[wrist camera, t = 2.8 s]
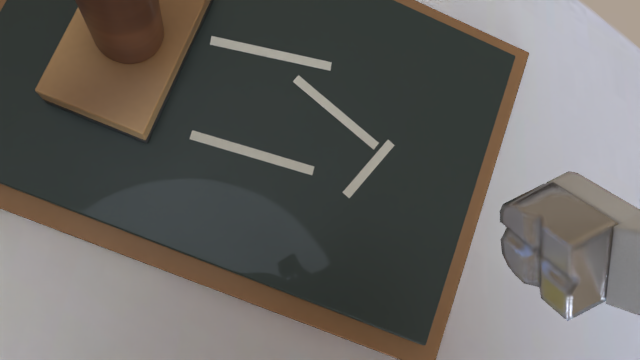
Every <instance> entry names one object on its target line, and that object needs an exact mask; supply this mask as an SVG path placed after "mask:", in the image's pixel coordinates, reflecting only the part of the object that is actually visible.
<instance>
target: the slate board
mask: <svg viewBox="0 0 640 360" xmlns="http://www.w3.org/2000/svg"><path fill="white" fill-rule="evenodd" d="M77 8H78V6H77V3H76V1H75V0H0V208H1V209H3V210H6V211H9V212H11V213H14V214H17V215H19V216H22V217H24V218H27V219H30V220H32V221H35V222H38V223H40V224H43V225H46V226H48V227H51V228H54V229H56V230H59V231H61V232H64V233H67V234H69V235H72V236H75V237H77V238H80V239H83V240H85V241H88V242H91V243H93V244H96V245H98V246H101V247H104V248H106V249H109V250H112V251H114V252H117V253H120V254H122V255H125V256H128V257H130V258H133V259H136V260H138V261H141V262H143V263H146V264H149V265H151V266H154V267H157V268H159V269H162V270H165V271H167V272H170V273H173V274H175V275H178V276H180V277H183V278H186V279H188V280H191V281H194V282H196V283H199V284H202V285H204V286H207V287H210V288H212V289H215V290H218V291H220V292H223V293H225V294H228V295H231V296H233V297H236V298H239V299H241V300H244V301H247V302H249V303H252V304H255V305H257V306H260V307H262V308H265V309H268V310H270V311H273V312H276V313H278V314H281V315H284V316H286V317H289V318H292V319H294V320H297V321H299V322H302V323H305V324H307V325H310V326H313V327H315V328H318V329H321V330H323V331H326V332H329V333H331V334H334V335H337V336H339V337H342V338H344V339H347V340H350V341H352V342H355V343H358V344H360V345H363V346H366V347H368V348H371V349H374V350H376V351H379V352H381V353H384V354H387V355H389V356H392V357H395V358H397V359H400V360H436V356H437V353H438V350H439V346H440V343H441V340H442V337H443V333H444V330H445V327H446V324H447V320H448V317H449V314H450V310H451V307H452V304H453V301H454V297H455V294H456V291H457V288H458V284H459V281H460V278H461V275H462V271H463V268H464V265H465V261H466V258H467V255H468V252H469V248H470V245H471V242H472V239H473V235H474V232H475V229H476V225H477V222H478V219H479V216H480V212H481V209H482V206H483V203H484V199H485V196H486V193H487V189H488V186H489V183H490V180H491V176H492V173H493V170H494V167H495V163H496V160H497V157H498V153H499V150H500V147H501V144H502V140H503V137H504V134H505V131H506V127H507V124H508V121H509V118H510V114H511V111H512V108H513V104H514V101H515V98H516V95H517V91H518V88H519V85H520V82H521V78H522V75H523V72H524V68H525V65H526V62H527V59H528V55H529V53H528V52H526V51H524V50H522V49H519V48H517V47H515V46H513V45H511V44H509V43H506V42H504V41H502V40H500V39H498V38H495V37H493V36H491V35H489V34H487V33H485V32H482V31H480V30H478V29H476V28H474V27H472V26H469V25H467V24H465V23H463V22H461V21H459V20H456V19H454V18H452V17H450V16H448V15H445V14H443V13H441V12H439V11H437V10H435V9H432V8H430V7H428V6H426V5H424V4H422V3H419V2H417V1H415V0H213V2H212V4H211V6H210V9H209V11H208V13H207V15H206V17H205V19H204V22H203V24H202V26H201V28H200V30H199V32H198V35H197V37H196V39H195V41H194V43H193V45H192V48H191V50H190V52H189V54H188V56H187V58H186V61H185V63H184V65H183V67H182V69H181V71H180V74H179V76H178V78H177V80H176V82H175V84H174V87H173V89H172V91H171V93H170V95H169V97H168V100H167V102H166V104H165V106H164V108H163V110H162V113H161V115H160V117H159V119H158V121H157V123H156V126H155V128H154V130H153V132H152V134H151V136H150V139H149V141H148V143H144V142H141V141H139V140H136V139H134V138H132V137H129V136H127V135H124V134H122V133H119V132H117V131H114V130H112V129H109V128H107V127H104V126H102V125H99V124H97V123H94V122H92V121H89V120H87V119H84V118H82V117H79V116H77V115H75V114H72V113H70V112H67V111H65V110H62V109H60V108H57V107H55V106H52V105H50V104H47V103H46V102H45V101H44V100H43V99H42V98H41V97H40V96H39V94H38V93H37V92H36V91H35V88H36V87H37V85H38V83H39V81H40V79H41V77H42V75H43V73H44V71H45V69H46V67H47V66H48V64H49V62H50V60H51V58H52V56H53V54H54V52H55V50H56V48H57V46H58V44H59V43H60V41H61V39H62V37H63V35H64V33H65V31H66V29H67V27H68V25H69V23H70V22H71V20H72V18H73V16H74V14H75V12H76V10H77Z"/></svg>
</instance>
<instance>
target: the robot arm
mask: <svg viewBox="0 0 640 360" xmlns="http://www.w3.org/2000/svg"><path fill="white" fill-rule="evenodd" d="M500 222H501V223H502V224H504V225H505V226H506V227H507V229H506V230H505V232H504V234H503V236H502V238H501V246H502V254H503V256H504V258H505V260H506V263H507V265H508V267H509V268H510V269H511V270H512V272H513V273H514V274H515V275H516V276H517V277H518V278H519V279H520V280H521V281H522V282H523V283H525V284H529V285H533V286H537V287H539V288H540V294H541V298H542V299H543V300H544V301H545V302H546V303H547V304H548V305H550V306H551V307H552V308H553V309H554V310H555V311H557V312H558V313H559V314H560V315H561V316H562V317H563V318H565V319H566V320H567V321H569V320H571V319H572V318H574V317H576V316H578V315H580V314H582V313H584V312H586V311H588V310H590V309H591V308H593V307H595V306H597V305H599V304H601V303H603V302H605V301H606V304H608V305H611V306H614V307H617V308H620V309H623V310H626V311H629V312H631V313H634V314H637V315H640V209H638V208H636V207H634V206H633V205H631V204H629V203H628V202H626V201H624V200H622V199H621V198H619V197H617V196H616V195H614V194H612V193H611V192H609V191H607V190H605V189H604V188H602V187H600V186H599V185H597V184H595V183H593V182H592V181H590V180H588V179H587V178H585V177H583V176H582V175H580V174H578V173H575V172H569V171H568V172H566V173H564V174H562V175H560V176H559V177H557V178H555V179H553V180H551V181H549V182H547V183H546V184H542V185H540V186H538V187H536V188H534V189H532V190H530V191H529V192H527V193H525V194H523V195H521V196H519V197H517V198H515V199H513V200H511V201H509V202H507V203H505V204H503V205H502V208H501V210H500Z"/></svg>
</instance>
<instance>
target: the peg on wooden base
mask: <svg viewBox="0 0 640 360" xmlns="http://www.w3.org/2000/svg"><path fill="white" fill-rule="evenodd" d="M75 1H76V3H77V6H78V8H77V10H76V12H75V14H74V16H73V18H72V20H71V22H70V23H69V25H68V27H67V29H66V31H65V33H64V35H63V37H62V39H61V41H60V43H59V44H58V46H57V48H56V50H55V52H54V54H53V56H52V58H51V60H50V62H49V64H48V66H47V67H46V69H45V71H44V73H43V75H42V77H41V79H40V81H39V83H38V85H37V87H36V88H35V91H36V92H37V93H38V94H39V96H40V97H41V98H42V99H43V100H44V101H45V102H46V103H47V104H50V105H52V106H55V107H57V108H60V109H62V110H65V111H67V112H70V113H72V114H75V115H77V116H79V117H82V118H84V119H87V120H89V121H92V122H94V123H97V124H99V125H102V126H104V127H107V128H109V129H112V130H114V131H117V132H119V133H122V134H124V135H127V136H129V137H132V138H134V139H136V140H139V141H141V142H144V143H148V141H149V139H150V136H151V134H152V132H153V130H154V128H155V126H156V123H157V121H158V119H159V117H160V115H161V113H162V110H163V108H164V106H165V104H166V102H167V100H168V97H169V95H170V93H171V91H172V89H173V87H174V84H175V82H176V80H177V78H178V76H179V74H180V71H181V69H182V67H183V65H184V63H185V61H186V58H187V56H188V54H189V52H190V50H191V48H192V45H193V43H194V41H195V39H196V37H197V35H198V32H199V30H200V28H201V26H202V24H203V22H204V19H205V17H206V15H207V13H208V11H209V9H210V6H211V4H212V2H213V0H75Z"/></svg>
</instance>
